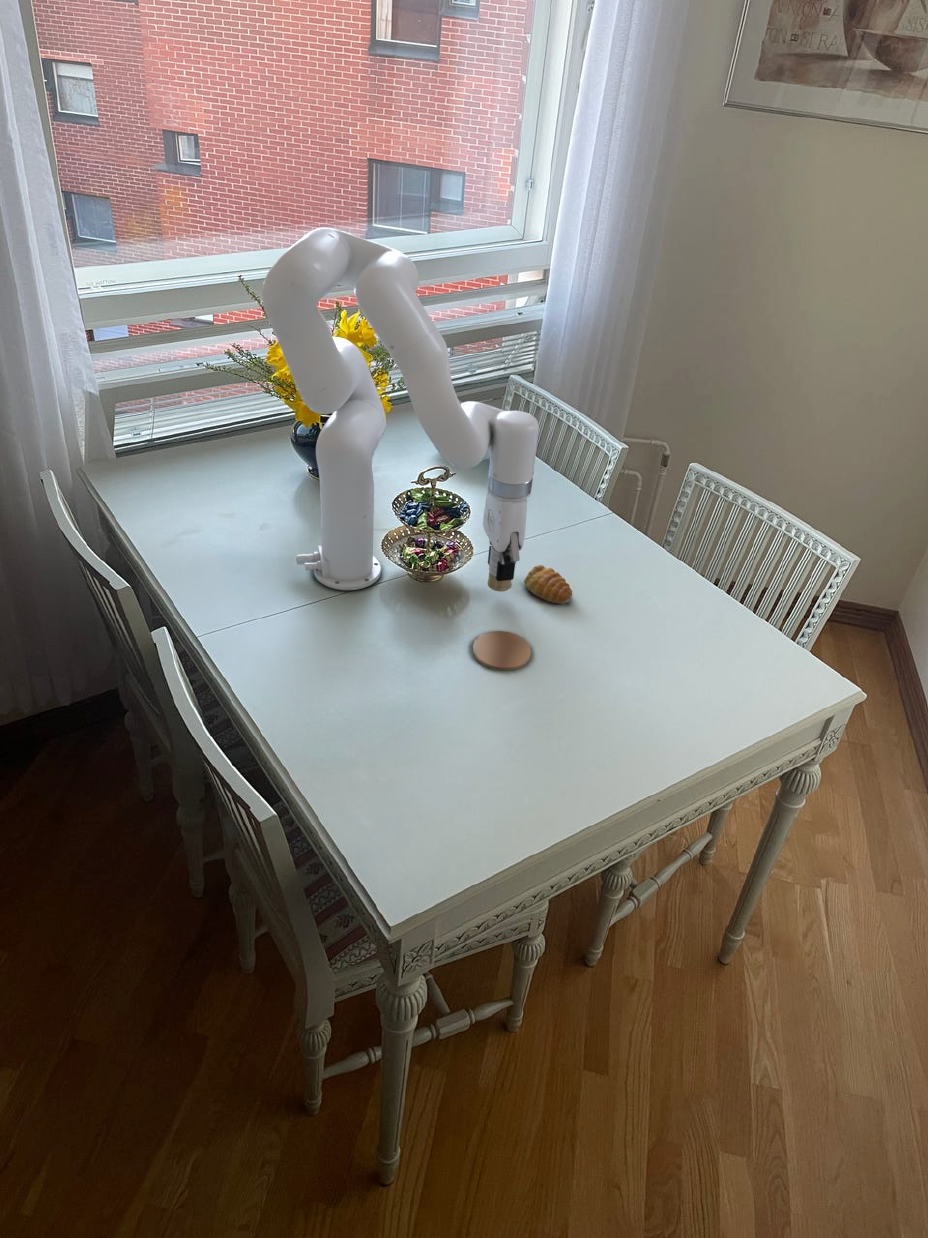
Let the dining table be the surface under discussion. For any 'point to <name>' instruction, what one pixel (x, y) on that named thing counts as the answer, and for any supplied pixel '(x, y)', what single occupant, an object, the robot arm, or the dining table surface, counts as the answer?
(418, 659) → the dining table surface
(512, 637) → the copper coaster
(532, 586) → the pastry
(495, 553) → the sprinkles bottle
